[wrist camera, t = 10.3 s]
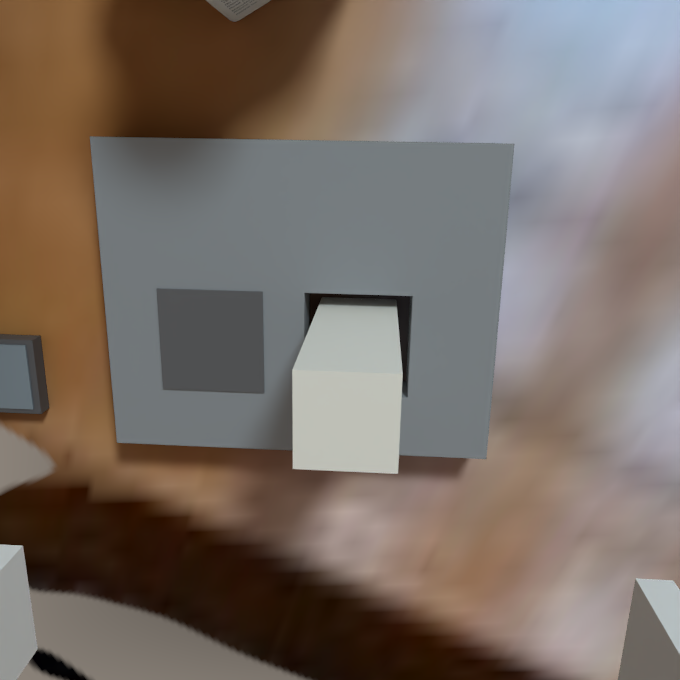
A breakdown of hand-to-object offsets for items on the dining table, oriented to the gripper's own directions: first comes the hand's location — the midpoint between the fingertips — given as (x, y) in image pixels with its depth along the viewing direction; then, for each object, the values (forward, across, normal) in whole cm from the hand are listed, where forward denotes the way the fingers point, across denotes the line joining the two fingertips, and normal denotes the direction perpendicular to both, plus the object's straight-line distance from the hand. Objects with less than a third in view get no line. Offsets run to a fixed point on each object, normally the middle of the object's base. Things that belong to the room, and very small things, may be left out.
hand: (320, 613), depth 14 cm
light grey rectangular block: (+22, 0, 0) cm, 23 cm away
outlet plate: (+22, -3, +2) cm, 23 cm away
